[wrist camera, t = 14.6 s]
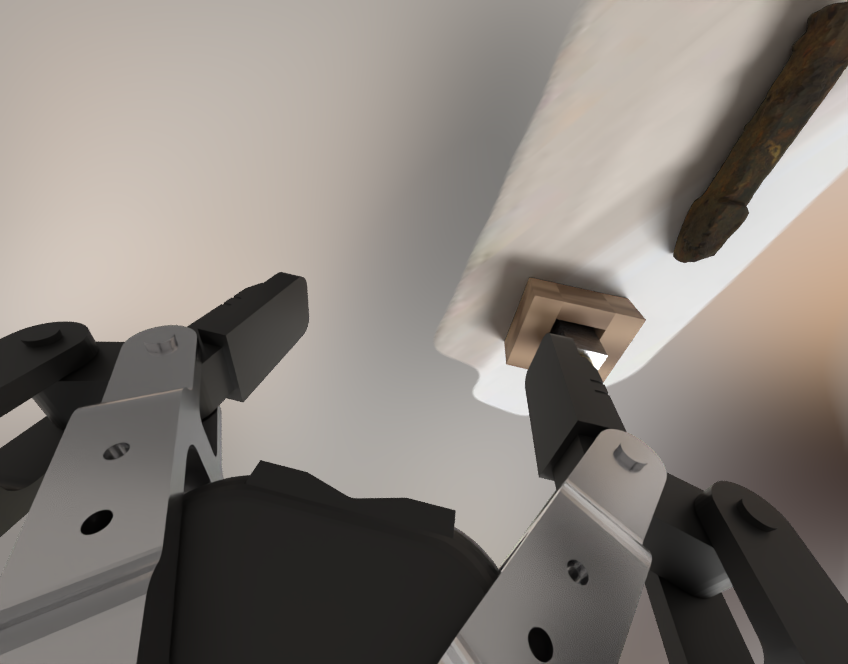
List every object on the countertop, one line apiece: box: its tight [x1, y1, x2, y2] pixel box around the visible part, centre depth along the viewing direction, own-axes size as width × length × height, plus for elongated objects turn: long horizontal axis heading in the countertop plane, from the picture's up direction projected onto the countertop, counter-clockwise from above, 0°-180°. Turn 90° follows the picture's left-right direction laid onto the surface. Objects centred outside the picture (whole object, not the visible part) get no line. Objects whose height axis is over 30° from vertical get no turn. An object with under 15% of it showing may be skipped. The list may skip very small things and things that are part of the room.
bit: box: [549, 319, 608, 370], centre depth 35 cm, size 4×4×12 cm
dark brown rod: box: [673, 2, 848, 263], centre depth 26 cm, size 19×4×5 cm, turn 168°
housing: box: [504, 277, 646, 382], centre depth 38 cm, size 10×12×5 cm
